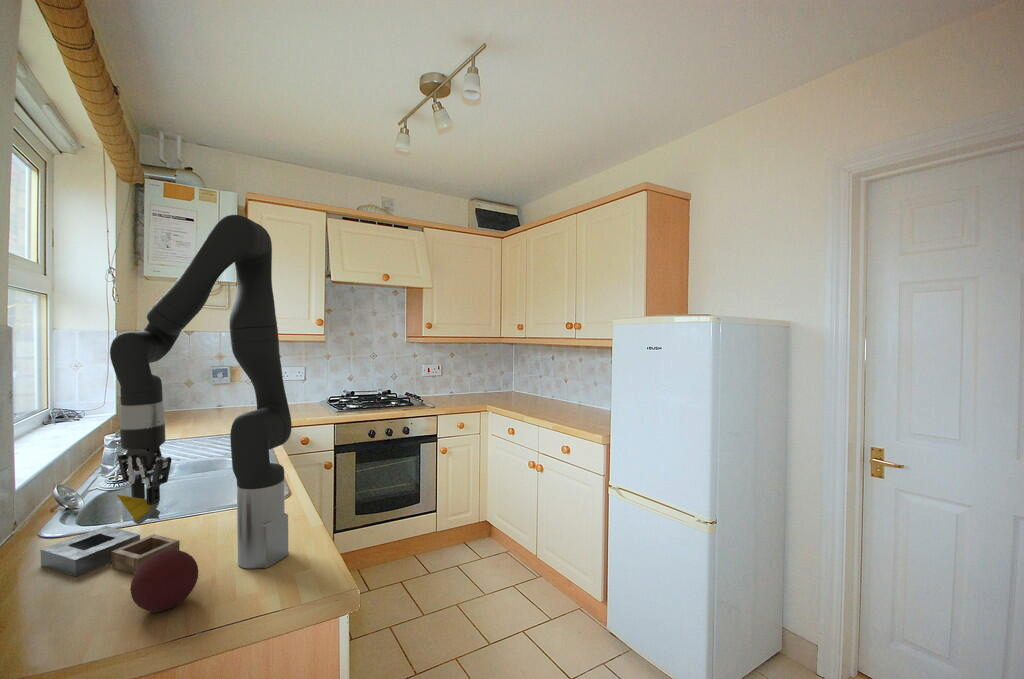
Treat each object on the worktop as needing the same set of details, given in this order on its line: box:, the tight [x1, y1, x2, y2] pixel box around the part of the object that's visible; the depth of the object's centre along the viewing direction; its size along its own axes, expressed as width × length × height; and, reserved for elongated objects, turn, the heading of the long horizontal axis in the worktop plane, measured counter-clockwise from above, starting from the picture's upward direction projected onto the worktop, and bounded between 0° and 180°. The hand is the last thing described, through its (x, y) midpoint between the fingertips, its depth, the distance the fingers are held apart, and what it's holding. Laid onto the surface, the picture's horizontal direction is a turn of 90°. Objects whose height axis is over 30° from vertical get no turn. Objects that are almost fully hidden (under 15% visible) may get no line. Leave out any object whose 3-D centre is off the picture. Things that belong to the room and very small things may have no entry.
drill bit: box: [116, 494, 161, 525], centre depth 98 cm, size 5×5×10 cm
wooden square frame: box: [111, 533, 181, 575], centre depth 100 cm, size 8×8×4 cm
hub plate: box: [40, 525, 141, 578], centre depth 101 cm, size 12×12×4 cm
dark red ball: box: [129, 549, 199, 612], centre depth 84 cm, size 10×10×10 cm
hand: (145, 502), depth 99 cm, fingers closed on drill bit, 4 cm apart
